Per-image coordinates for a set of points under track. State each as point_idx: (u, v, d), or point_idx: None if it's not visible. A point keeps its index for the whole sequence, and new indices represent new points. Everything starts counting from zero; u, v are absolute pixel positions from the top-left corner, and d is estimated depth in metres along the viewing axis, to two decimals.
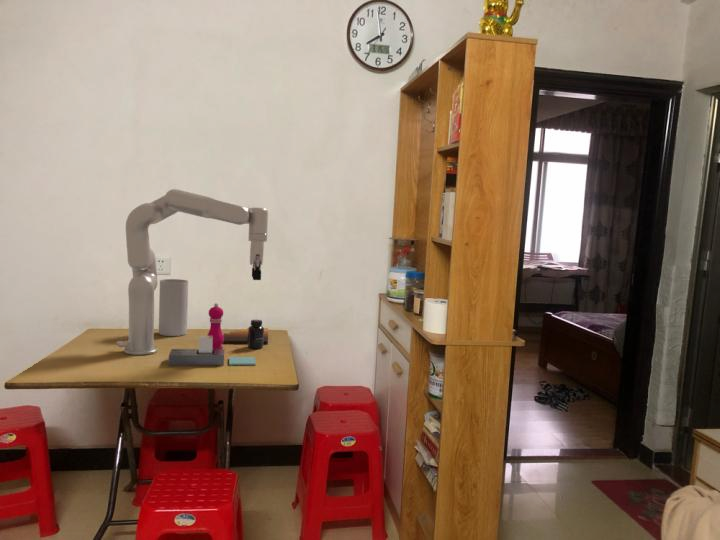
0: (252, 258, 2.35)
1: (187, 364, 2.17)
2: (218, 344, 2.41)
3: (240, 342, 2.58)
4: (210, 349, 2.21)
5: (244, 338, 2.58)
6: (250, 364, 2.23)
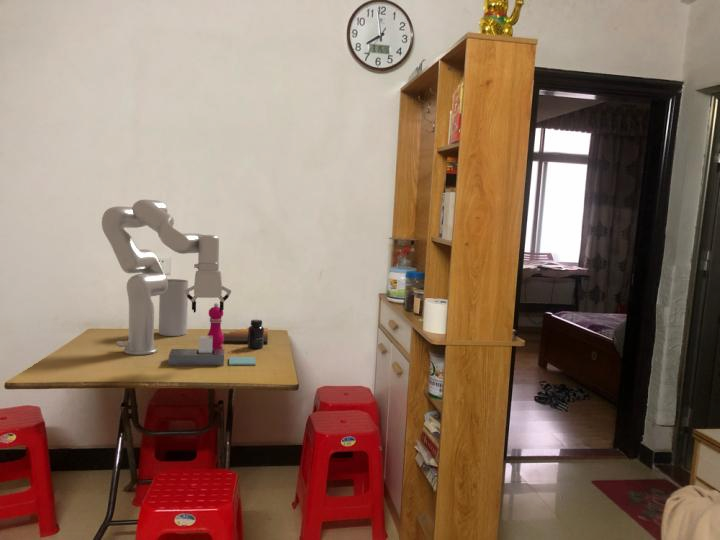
0: (221, 290, 2.20)
1: (187, 364, 2.17)
2: (218, 344, 2.41)
3: (240, 342, 2.58)
4: (210, 349, 2.21)
5: (244, 338, 2.59)
6: (250, 364, 2.23)
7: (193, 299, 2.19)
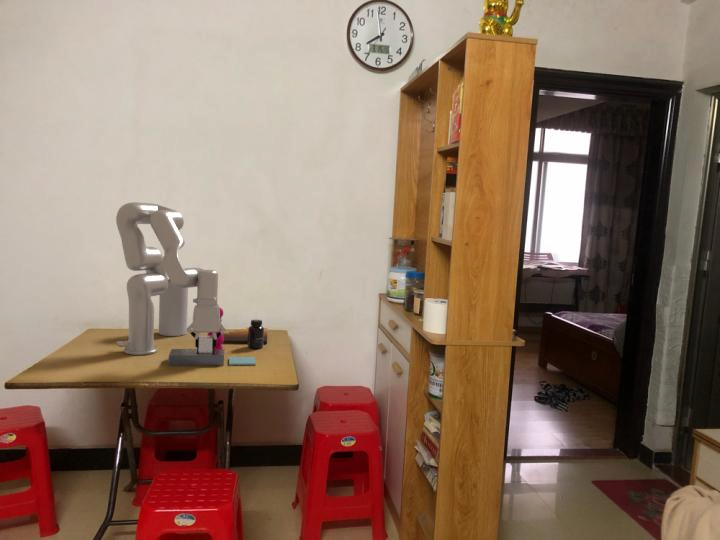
0: (219, 325, 2.21)
1: (187, 364, 2.17)
2: (218, 344, 2.41)
3: (239, 342, 2.58)
4: (210, 349, 2.21)
5: (243, 338, 2.59)
6: (250, 364, 2.23)
7: (197, 336, 2.21)
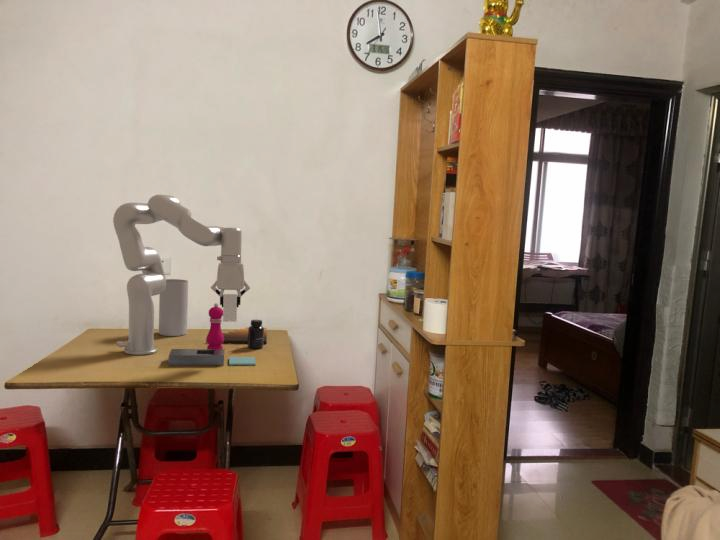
0: (243, 282, 2.22)
1: (187, 364, 2.17)
2: (218, 344, 2.41)
3: (239, 342, 2.58)
4: (235, 306, 2.21)
5: (243, 338, 2.59)
6: (250, 364, 2.23)
7: (221, 294, 2.21)
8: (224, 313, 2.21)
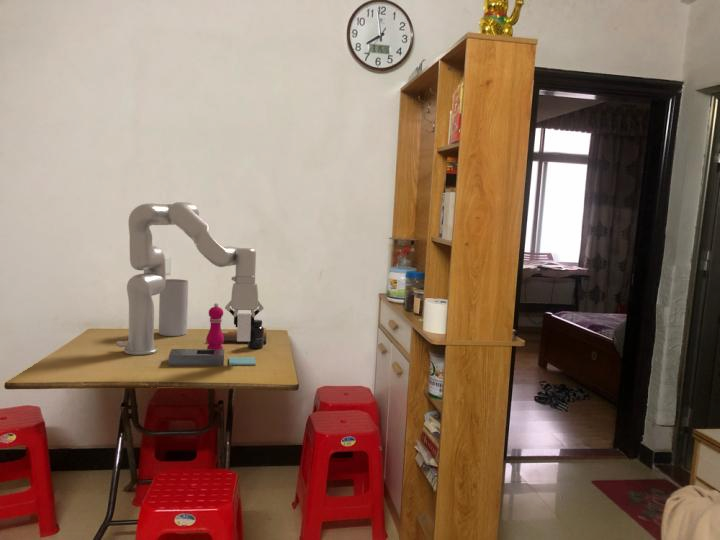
0: (257, 302, 2.24)
1: (187, 364, 2.17)
2: (218, 344, 2.41)
3: (238, 342, 2.58)
4: (249, 326, 2.23)
5: None
6: (250, 364, 2.23)
7: (235, 314, 2.23)
8: (238, 333, 2.23)
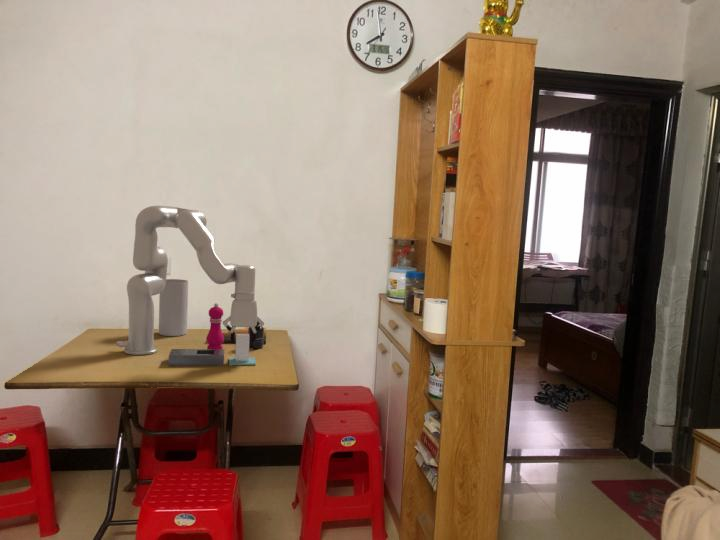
0: (256, 319, 2.24)
1: (187, 364, 2.17)
2: (218, 344, 2.41)
3: None
4: (247, 347, 2.24)
5: None
6: (250, 364, 2.23)
7: (232, 330, 2.23)
8: (236, 353, 2.24)
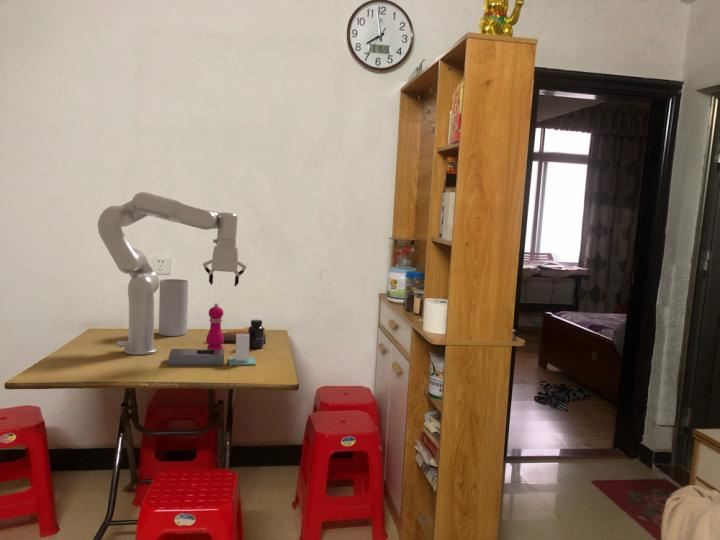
0: (237, 265, 2.34)
1: (187, 364, 2.17)
2: (218, 344, 2.41)
3: None
4: (247, 347, 2.24)
5: None
6: (250, 364, 2.23)
7: (210, 272, 2.33)
8: (236, 353, 2.24)
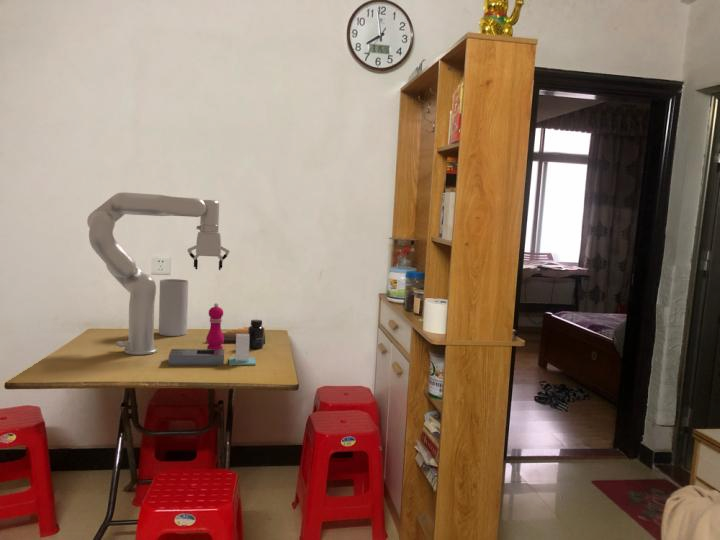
0: (220, 249, 2.45)
1: (187, 364, 2.17)
2: (218, 344, 2.41)
3: None
4: (247, 347, 2.24)
5: None
6: (250, 364, 2.23)
7: (195, 257, 2.44)
8: (236, 353, 2.24)
